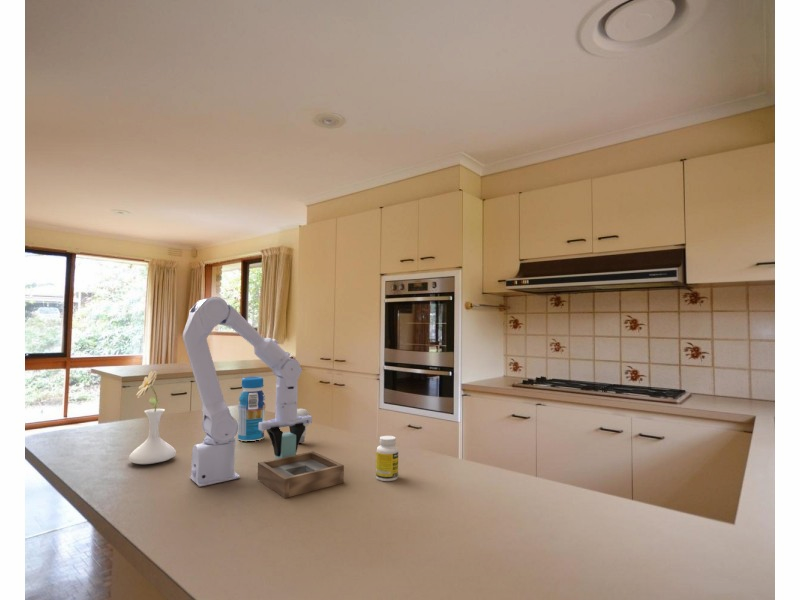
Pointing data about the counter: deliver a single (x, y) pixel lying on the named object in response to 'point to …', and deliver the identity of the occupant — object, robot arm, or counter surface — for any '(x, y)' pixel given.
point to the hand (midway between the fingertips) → (285, 454)
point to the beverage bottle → (251, 409)
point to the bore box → (300, 473)
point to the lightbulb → (303, 413)
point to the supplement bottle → (387, 459)
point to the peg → (287, 445)
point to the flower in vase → (152, 431)
